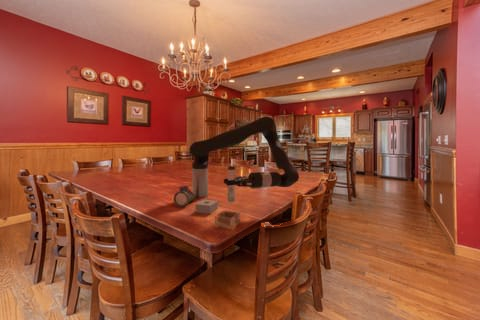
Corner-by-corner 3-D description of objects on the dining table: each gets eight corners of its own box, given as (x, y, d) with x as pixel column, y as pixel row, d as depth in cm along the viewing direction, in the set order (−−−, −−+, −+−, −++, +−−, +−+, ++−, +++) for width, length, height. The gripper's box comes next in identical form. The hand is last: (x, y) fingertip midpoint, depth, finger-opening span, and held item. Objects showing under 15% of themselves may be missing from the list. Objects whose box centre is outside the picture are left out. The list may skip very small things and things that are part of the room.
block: (203, 207, 109) (203, 199, 109) (217, 208, 107) (217, 201, 106) (195, 212, 102) (195, 204, 101) (210, 214, 99) (210, 205, 99)
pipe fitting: (187, 207, 108) (186, 186, 108) (173, 207, 109) (172, 187, 110) (197, 202, 119) (196, 184, 120) (184, 203, 121) (183, 185, 121)
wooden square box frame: (222, 219, 93) (222, 210, 92) (240, 221, 90) (240, 212, 90) (214, 226, 85) (214, 217, 85) (233, 229, 83) (233, 219, 82)
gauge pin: (229, 199, 99) (229, 165, 97) (235, 200, 98) (236, 166, 96) (226, 201, 96) (226, 166, 94) (233, 202, 95) (233, 167, 93)
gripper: (253, 169, 107) (221, 171, 101) (267, 174, 94) (230, 176, 88) (253, 184, 108) (220, 186, 102) (266, 191, 95) (230, 194, 89)
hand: (225, 182), depth 95 cm, fingers closed on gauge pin, 3 cm apart
